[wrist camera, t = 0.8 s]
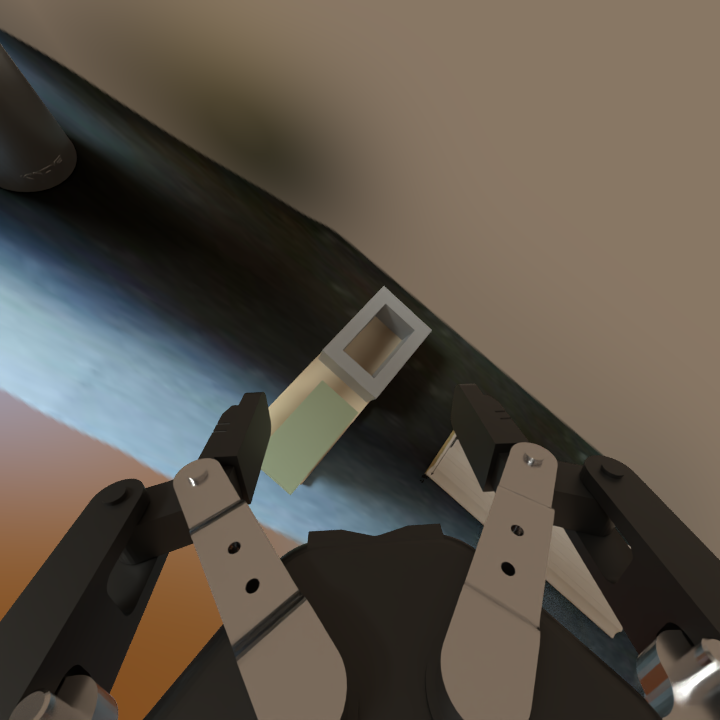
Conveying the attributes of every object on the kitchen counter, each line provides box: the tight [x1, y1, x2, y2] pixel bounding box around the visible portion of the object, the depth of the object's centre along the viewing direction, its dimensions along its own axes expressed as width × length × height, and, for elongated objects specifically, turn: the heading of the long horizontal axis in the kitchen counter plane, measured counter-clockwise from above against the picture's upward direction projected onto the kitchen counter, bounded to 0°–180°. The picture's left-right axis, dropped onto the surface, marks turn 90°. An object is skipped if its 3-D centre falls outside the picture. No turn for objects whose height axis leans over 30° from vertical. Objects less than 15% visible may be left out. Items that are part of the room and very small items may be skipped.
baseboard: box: [420, 430, 631, 638], centre depth 38 cm, size 31×3×12 cm
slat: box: [261, 380, 358, 495], centre depth 26 cm, size 3×6×16 cm, turn 140°
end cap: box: [318, 286, 432, 402], centre depth 35 cm, size 8×10×4 cm
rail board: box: [268, 316, 402, 484], centre depth 36 cm, size 8×22×1 cm, turn 140°
